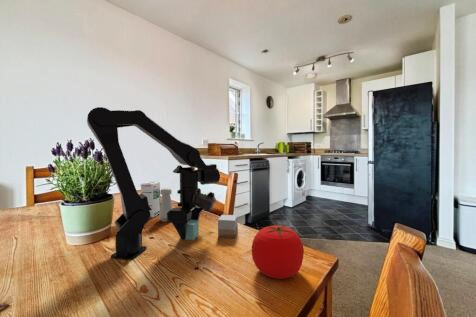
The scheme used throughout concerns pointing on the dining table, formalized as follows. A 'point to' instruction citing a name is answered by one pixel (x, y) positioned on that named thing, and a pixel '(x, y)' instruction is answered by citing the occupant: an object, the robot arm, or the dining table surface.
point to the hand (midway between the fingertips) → (189, 233)
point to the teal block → (192, 230)
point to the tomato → (277, 251)
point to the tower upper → (227, 222)
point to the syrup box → (152, 196)
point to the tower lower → (227, 233)
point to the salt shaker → (165, 204)
